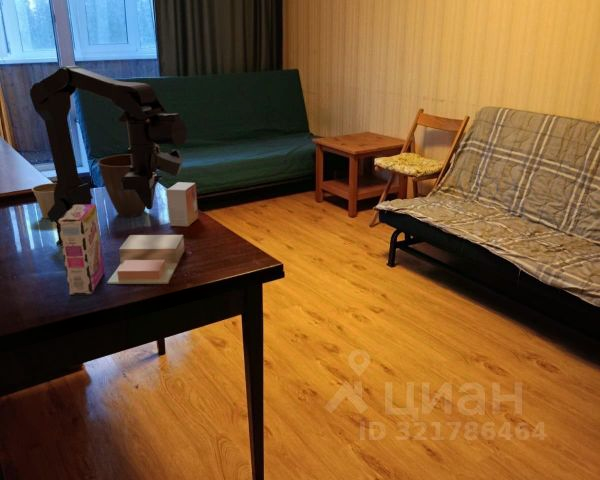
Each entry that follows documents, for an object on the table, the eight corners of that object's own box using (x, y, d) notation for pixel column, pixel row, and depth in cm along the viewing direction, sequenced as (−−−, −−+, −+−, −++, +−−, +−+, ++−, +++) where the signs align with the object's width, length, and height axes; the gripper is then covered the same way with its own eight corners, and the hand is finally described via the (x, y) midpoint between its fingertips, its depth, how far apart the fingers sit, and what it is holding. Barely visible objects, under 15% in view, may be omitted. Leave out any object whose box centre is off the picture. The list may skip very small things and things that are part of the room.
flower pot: (78, 214, 165) (74, 185, 162) (50, 223, 158) (44, 193, 154) (58, 209, 170) (53, 181, 166) (30, 217, 162) (24, 188, 159)
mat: (107, 283, 121) (107, 282, 121) (121, 265, 130) (120, 263, 130) (167, 283, 121) (167, 281, 121) (177, 264, 130) (177, 263, 130)
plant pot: (149, 202, 175) (144, 152, 169) (164, 215, 163) (158, 161, 157) (100, 210, 168) (92, 157, 162) (111, 224, 156) (104, 168, 150)
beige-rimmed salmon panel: (125, 260, 127) (126, 268, 127) (117, 271, 121) (118, 279, 122) (164, 259, 127) (165, 267, 127) (158, 270, 121) (159, 279, 122)
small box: (188, 227, 154) (185, 190, 150) (169, 226, 155) (165, 189, 151) (198, 218, 161) (196, 182, 157) (180, 216, 162) (177, 181, 158)
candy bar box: (93, 294, 116) (82, 220, 110) (69, 296, 116) (56, 220, 110) (106, 272, 126) (96, 202, 120) (83, 273, 126) (72, 203, 120)
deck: (121, 265, 130) (118, 249, 129) (131, 250, 138) (129, 235, 137) (177, 264, 130) (175, 248, 129) (184, 250, 138) (183, 234, 137)
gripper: (169, 151, 117) (175, 221, 123) (186, 134, 134) (191, 197, 140) (115, 151, 117) (124, 222, 123) (139, 134, 134) (146, 197, 140)
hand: (149, 208), depth 131 cm, fingers closed
